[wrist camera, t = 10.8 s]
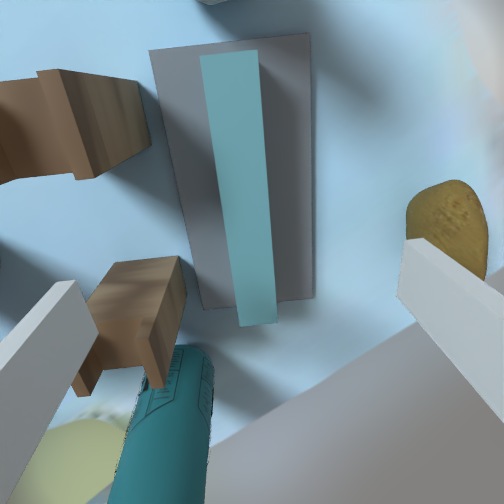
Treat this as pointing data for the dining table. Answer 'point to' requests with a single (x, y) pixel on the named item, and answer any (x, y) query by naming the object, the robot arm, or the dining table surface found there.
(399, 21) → the dining table surface
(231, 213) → the rail
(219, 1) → the salt shaker
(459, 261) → the potato
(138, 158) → the dining table surface
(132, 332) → the post
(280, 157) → the mat
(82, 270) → the dining table surface
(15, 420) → the robot arm
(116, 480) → the beverage bottle
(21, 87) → the post
